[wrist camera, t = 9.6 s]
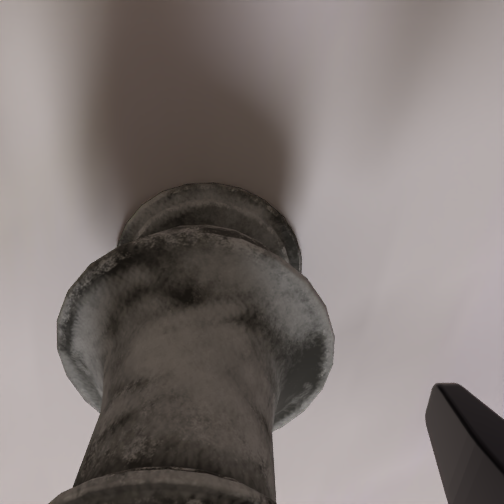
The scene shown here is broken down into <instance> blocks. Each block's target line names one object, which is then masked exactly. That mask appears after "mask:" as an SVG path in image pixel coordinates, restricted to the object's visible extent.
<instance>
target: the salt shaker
mask: <svg viewBox="0 0 504 504" xmlns="http://www.w3.org/2000/svg"><path fill="white" fill-rule="evenodd" d="M301 270H302V257H301V253H300V250H299V247H298V243H297V240H296V237H295V234H294V233H293V231H292V230H291V228H290V227H289V225H288V224H287V222H286V221H285V219H284V218H283V216H282V215H281V214H280V213H279V212H277V211H276V210H275V209H274V208H273V207H272V206H270V205H269V204H268V203H267V202H266V201H265V200H263V199H261V198H259V197H257V196H255V195H253V194H251V193H249V192H247V191H245V190H243V189H241V188H237V187H232V186H227V185H222V184H217V183H200V184H186V185H183V186H179V187H176V188H173V189H170V190H167V191H164V192H161V193H160V194H158V195H157V196H155V197H154V198H152V199H151V200H149V201H148V202H146V203H145V204H143V205H142V206H141V207H140V208H139V209H138V210H137V212H136V213H135V214H134V215H133V216H132V218H131V219H130V220H129V221H128V222H127V224H126V226H125V228H124V230H123V233H122V235H121V238H120V240H119V243H118V245H117V248H115V249H114V250H112V251H110V252H109V253H107V254H106V255H104V256H103V257H101V258H99V259H98V260H96V261H95V262H93V263H91V264H90V265H89V266H88V267H87V269H86V270H85V271H84V272H83V273H82V275H81V276H80V277H79V278H78V279H77V281H76V282H75V283H74V284H73V285H72V287H71V288H70V289H69V290H68V292H67V294H66V297H65V300H64V302H63V305H62V308H61V310H60V313H59V316H58V319H57V350H58V353H59V356H60V358H61V361H62V364H63V367H64V370H65V372H66V375H67V377H68V378H69V380H70V381H71V382H72V384H73V385H74V386H75V388H76V389H77V391H78V392H79V393H80V395H81V396H82V397H83V399H84V400H85V401H86V402H87V403H88V404H90V405H91V406H92V407H93V408H94V409H96V410H97V411H98V412H99V413H100V416H99V418H98V421H97V424H96V426H95V429H94V432H93V434H92V437H91V440H90V442H89V445H88V448H87V450H86V453H85V456H84V458H83V461H82V464H81V466H80V469H79V472H78V475H77V477H76V480H75V483H74V485H73V488H71V489H69V490H67V491H65V492H63V493H61V494H59V495H58V496H57V497H56V498H55V499H53V500H52V501H51V502H50V503H49V504H276V491H275V474H274V458H273V442H272V431H275V430H277V429H279V428H281V427H283V426H284V425H285V424H287V423H288V422H290V421H291V420H292V419H294V418H295V417H297V416H298V415H299V414H301V413H302V412H303V411H305V409H306V408H307V407H308V406H309V405H310V403H311V402H312V401H313V400H314V399H315V397H316V396H317V395H318V394H319V393H320V391H321V390H322V389H323V387H324V384H325V382H326V379H327V377H328V375H329V372H330V370H331V368H332V365H333V354H334V339H335V336H334V333H333V329H332V326H331V322H330V319H329V315H328V312H327V308H326V305H325V304H324V302H323V301H322V299H321V298H320V297H319V295H318V294H317V292H316V291H315V289H314V288H313V286H312V285H311V283H310V282H309V281H308V279H307V278H306V277H305V276H303V275H302V274H301Z"/></svg>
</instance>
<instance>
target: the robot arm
mask: <svg viewBox="0 0 504 504" xmlns="http://www.w3.org/2000/svg"><path fill="white" fill-rule="evenodd" d="M425 420H426V426H427V430H428V433H429V437H430V441H431V444H432V448H433V451H434V455H435V459H436V462H437V466H438V469H439V473H440V476H441V480H442V484H443V487H444V491H445V494H446V498H447V501H448V504H504V419H503V418H501V417H500V416H499V415H498V414H496V413H495V412H494V411H493V410H491V409H490V408H489V407H488V406H486V405H485V404H484V403H483V402H481V401H480V400H479V399H478V398H476V397H475V396H474V395H473V394H471V393H470V392H469V391H468V390H466V389H465V388H464V387H462V386H461V385H459V384H457V383H437V384H435V385H434V386H433V388H432V391H431V395H430V398H429V402H428V406H427V409H426V414H425Z"/></svg>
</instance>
